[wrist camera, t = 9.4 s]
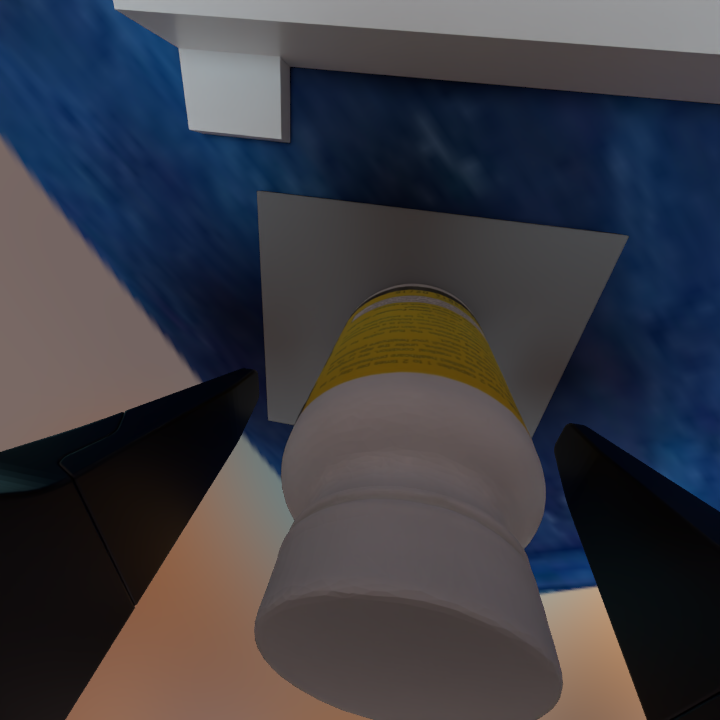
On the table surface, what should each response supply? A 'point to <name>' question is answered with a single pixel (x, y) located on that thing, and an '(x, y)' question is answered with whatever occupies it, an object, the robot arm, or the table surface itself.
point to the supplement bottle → (411, 527)
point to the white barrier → (429, 49)
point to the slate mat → (428, 267)
